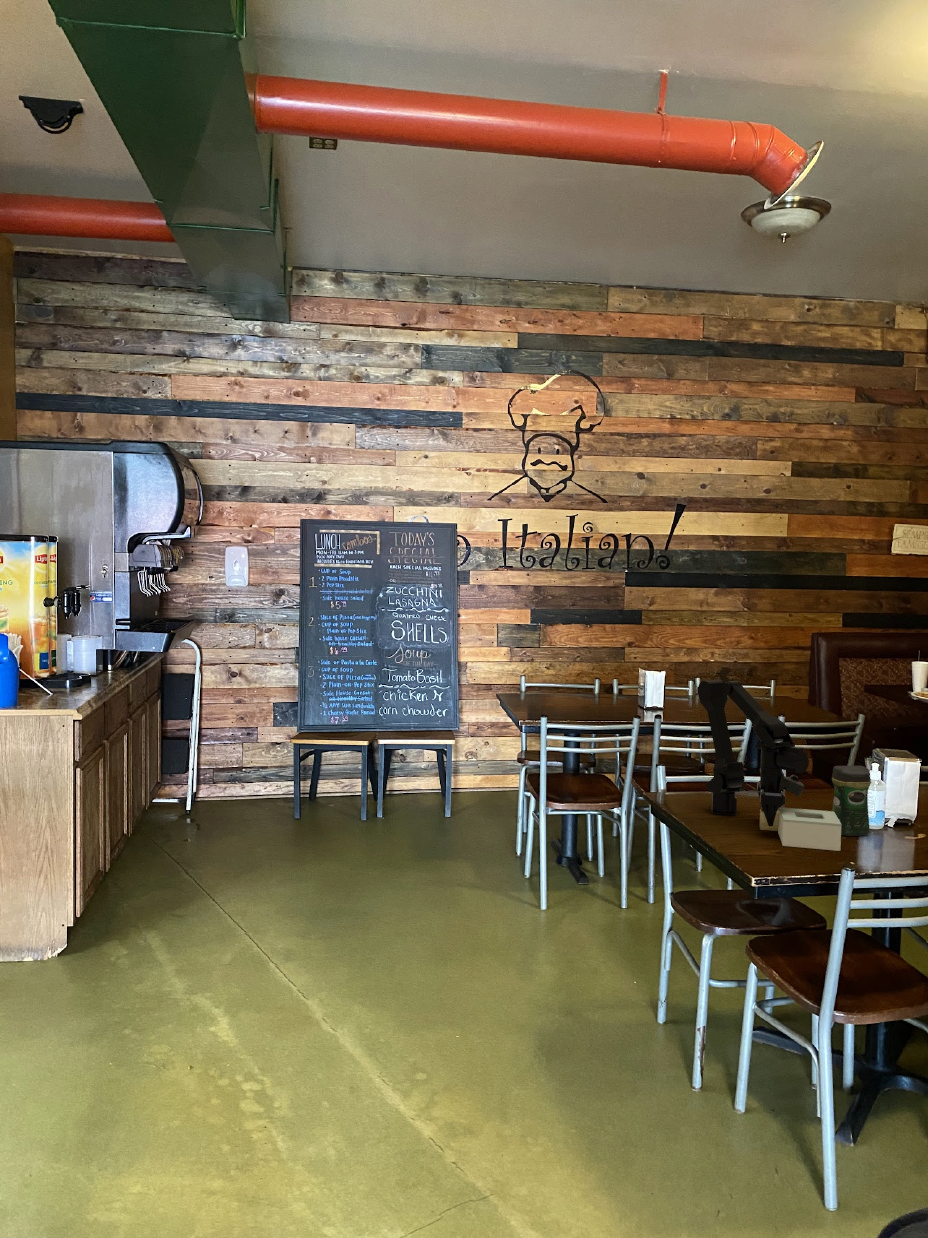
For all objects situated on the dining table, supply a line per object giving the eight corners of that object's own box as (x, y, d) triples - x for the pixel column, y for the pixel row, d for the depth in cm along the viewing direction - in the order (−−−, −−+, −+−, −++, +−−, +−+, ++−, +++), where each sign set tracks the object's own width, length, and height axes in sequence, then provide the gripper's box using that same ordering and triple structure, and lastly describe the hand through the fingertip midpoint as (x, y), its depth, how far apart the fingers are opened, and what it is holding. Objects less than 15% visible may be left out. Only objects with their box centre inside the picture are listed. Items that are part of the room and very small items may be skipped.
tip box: (782, 845, 228) (783, 819, 227) (778, 832, 239) (779, 807, 239) (840, 851, 224) (841, 824, 224) (832, 837, 236) (834, 811, 235)
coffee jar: (859, 828, 244) (862, 763, 243) (873, 837, 236) (876, 769, 235) (825, 828, 244) (828, 762, 243) (838, 836, 236) (840, 769, 235)
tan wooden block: (760, 829, 242) (761, 812, 242) (759, 826, 245) (760, 809, 244) (779, 831, 241) (780, 813, 240) (778, 828, 244) (779, 810, 243)
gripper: (806, 775, 230) (804, 834, 231) (799, 763, 248) (797, 817, 249) (761, 772, 233) (759, 830, 234) (757, 760, 251) (756, 814, 252)
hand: (769, 822), depth 242 cm, fingers open, 7 cm apart
